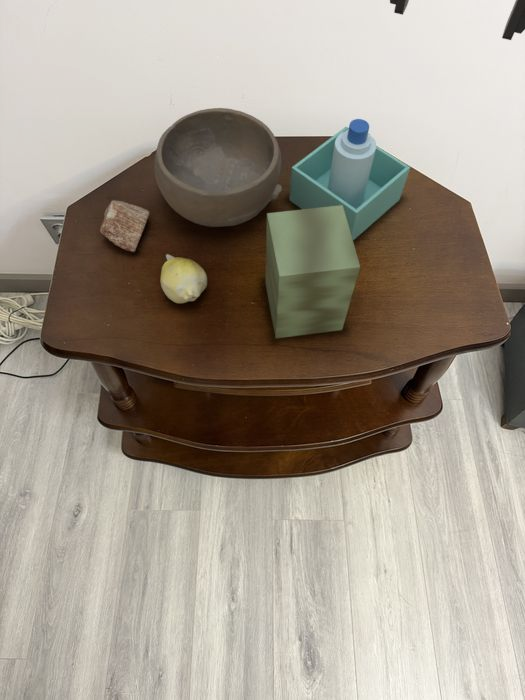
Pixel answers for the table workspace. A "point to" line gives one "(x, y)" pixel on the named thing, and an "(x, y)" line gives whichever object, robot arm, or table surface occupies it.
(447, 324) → the table surface
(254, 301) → the table surface
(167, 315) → the table surface
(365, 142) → the bottle
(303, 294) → the stand
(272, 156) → the bowl
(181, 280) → the fruit
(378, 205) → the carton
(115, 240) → the stone
